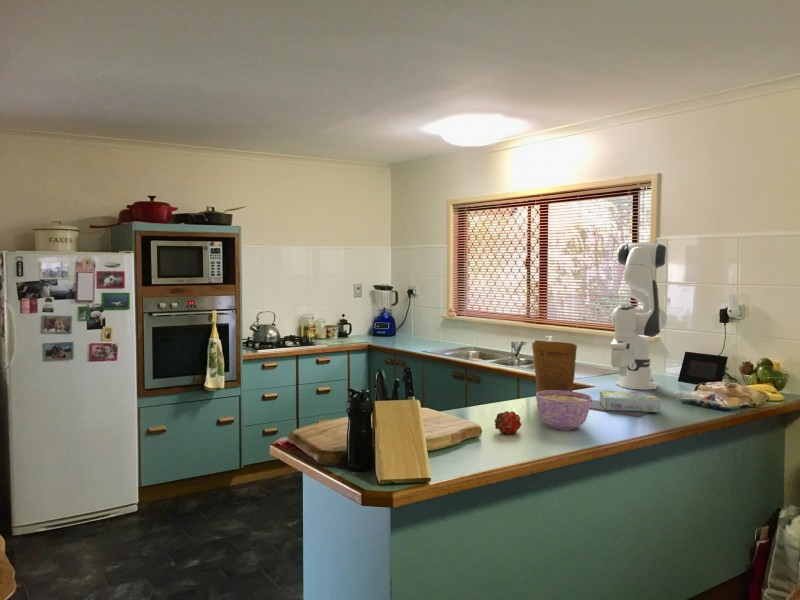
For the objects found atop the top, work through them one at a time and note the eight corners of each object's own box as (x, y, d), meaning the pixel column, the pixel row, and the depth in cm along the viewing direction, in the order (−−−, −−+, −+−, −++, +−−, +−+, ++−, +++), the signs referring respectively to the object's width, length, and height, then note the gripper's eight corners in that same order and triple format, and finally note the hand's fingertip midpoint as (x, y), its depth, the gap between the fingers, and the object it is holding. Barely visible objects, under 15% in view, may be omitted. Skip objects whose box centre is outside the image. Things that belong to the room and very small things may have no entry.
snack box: (651, 391, 279) (661, 399, 265) (650, 404, 280) (660, 413, 265) (599, 389, 282) (606, 397, 267) (599, 402, 282) (605, 411, 268)
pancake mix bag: (569, 415, 260) (572, 344, 258) (528, 406, 273) (531, 339, 272) (578, 413, 265) (581, 343, 263) (537, 404, 278) (540, 338, 276)
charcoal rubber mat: (590, 400, 289) (590, 399, 289) (651, 410, 273) (651, 408, 273) (576, 406, 276) (576, 405, 276) (639, 417, 260) (640, 415, 260)
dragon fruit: (494, 440, 227) (515, 439, 235) (512, 430, 222) (533, 429, 230) (485, 417, 231) (506, 417, 239) (503, 406, 226) (523, 407, 234)
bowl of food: (603, 430, 238) (604, 398, 237) (561, 437, 228) (562, 403, 227) (563, 418, 255) (564, 388, 254) (522, 423, 245) (524, 392, 244)
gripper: (624, 340, 291) (623, 372, 291) (609, 344, 274) (607, 377, 275) (639, 342, 287) (637, 374, 288) (624, 346, 270) (622, 379, 271)
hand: (622, 376), depth 281 cm, fingers closed
